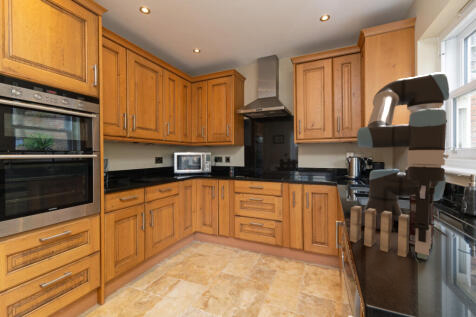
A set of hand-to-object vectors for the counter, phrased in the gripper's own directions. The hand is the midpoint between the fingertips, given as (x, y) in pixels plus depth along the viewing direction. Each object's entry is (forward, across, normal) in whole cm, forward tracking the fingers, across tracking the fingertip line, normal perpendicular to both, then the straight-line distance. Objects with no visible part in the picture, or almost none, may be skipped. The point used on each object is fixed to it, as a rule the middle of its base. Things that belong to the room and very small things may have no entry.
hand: (422, 249), depth 55 cm
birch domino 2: (+3, 0, +13) cm, 13 cm away
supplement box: (+3, +15, +2) cm, 15 cm away
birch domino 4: (+3, 0, +4) cm, 5 cm away
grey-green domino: (+2, 0, 0) cm, 2 cm away
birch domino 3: (+3, 0, +8) cm, 9 cm away
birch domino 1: (+3, 0, +17) cm, 17 cm away
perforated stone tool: (+3, +19, +17) cm, 25 cm away
